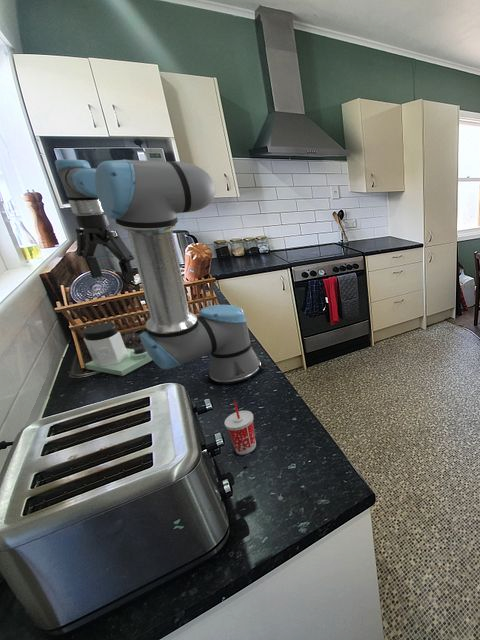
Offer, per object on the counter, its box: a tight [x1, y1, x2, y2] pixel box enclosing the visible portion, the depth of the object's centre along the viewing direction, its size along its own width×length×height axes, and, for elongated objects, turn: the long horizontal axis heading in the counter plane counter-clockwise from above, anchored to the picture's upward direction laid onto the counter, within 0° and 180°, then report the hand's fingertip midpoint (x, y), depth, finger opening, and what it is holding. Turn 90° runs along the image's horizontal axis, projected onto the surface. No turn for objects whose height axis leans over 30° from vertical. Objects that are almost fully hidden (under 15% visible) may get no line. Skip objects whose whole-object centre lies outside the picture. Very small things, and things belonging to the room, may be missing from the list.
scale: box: [84, 347, 153, 377], centre depth 118 cm, size 15×12×4 cm
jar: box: [81, 322, 128, 367], centre depth 114 cm, size 9×8×12 cm
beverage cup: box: [224, 400, 257, 455], centre depth 83 cm, size 6×6×14 cm
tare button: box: [133, 345, 146, 354], centre depth 119 cm, size 3×3×2 cm
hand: (113, 279), depth 117 cm, fingers open, 13 cm apart
